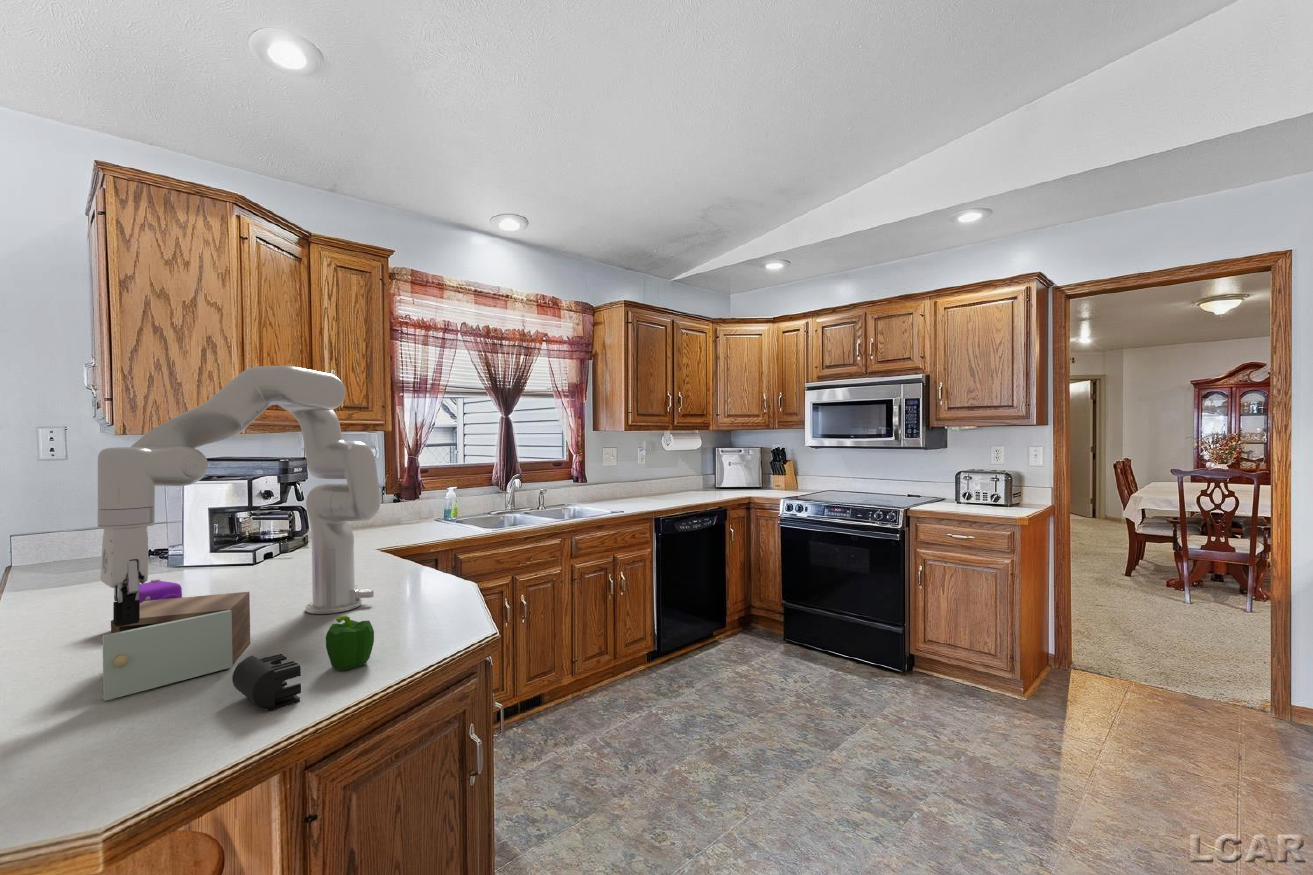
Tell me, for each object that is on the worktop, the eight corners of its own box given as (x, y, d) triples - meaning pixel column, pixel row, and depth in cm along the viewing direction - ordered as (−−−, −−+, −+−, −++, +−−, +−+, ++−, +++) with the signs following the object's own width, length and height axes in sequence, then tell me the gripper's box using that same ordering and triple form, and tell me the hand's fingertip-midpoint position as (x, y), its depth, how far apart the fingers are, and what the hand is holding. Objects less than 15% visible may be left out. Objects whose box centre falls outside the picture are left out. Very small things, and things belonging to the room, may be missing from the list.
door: (230, 665, 115) (229, 609, 115) (234, 668, 114) (233, 611, 114) (103, 698, 101) (102, 635, 101) (106, 702, 100) (105, 638, 100)
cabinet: (250, 643, 128) (249, 591, 128) (230, 666, 115) (229, 609, 115) (145, 655, 122) (144, 600, 122) (111, 682, 109) (110, 620, 109)
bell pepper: (361, 654, 121) (360, 604, 121) (381, 664, 116) (380, 611, 116) (316, 667, 115) (316, 614, 115) (335, 678, 110) (335, 622, 110)
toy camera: (156, 635, 135) (155, 590, 135) (106, 631, 137) (105, 587, 137) (201, 620, 145) (200, 578, 145) (154, 617, 148) (154, 576, 148)
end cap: (232, 701, 101) (231, 660, 101) (279, 687, 106) (279, 648, 106) (252, 718, 94) (252, 675, 94) (302, 702, 100) (301, 661, 100)
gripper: (89, 517, 108) (89, 621, 107) (107, 523, 98) (106, 637, 98) (143, 513, 113) (143, 611, 113) (165, 519, 104) (165, 626, 104)
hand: (126, 623), depth 106 cm, fingers closed
